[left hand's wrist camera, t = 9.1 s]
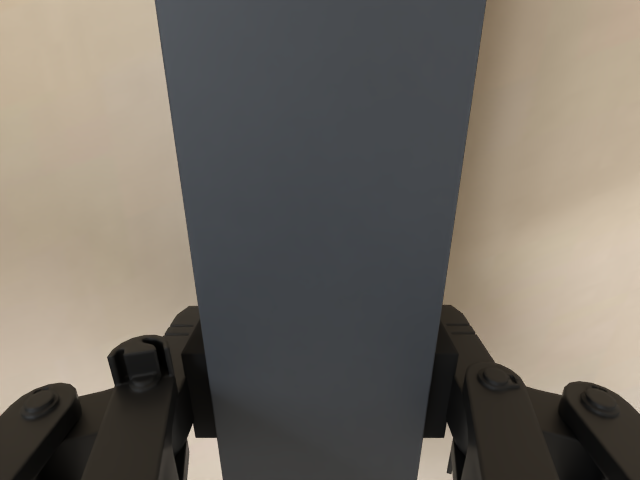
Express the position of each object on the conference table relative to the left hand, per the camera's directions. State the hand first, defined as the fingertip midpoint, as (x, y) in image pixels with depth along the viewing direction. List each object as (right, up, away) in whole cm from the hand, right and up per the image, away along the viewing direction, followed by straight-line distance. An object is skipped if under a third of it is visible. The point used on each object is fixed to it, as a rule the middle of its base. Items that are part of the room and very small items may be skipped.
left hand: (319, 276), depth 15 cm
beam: (0, +32, -12) cm, 34 cm away
